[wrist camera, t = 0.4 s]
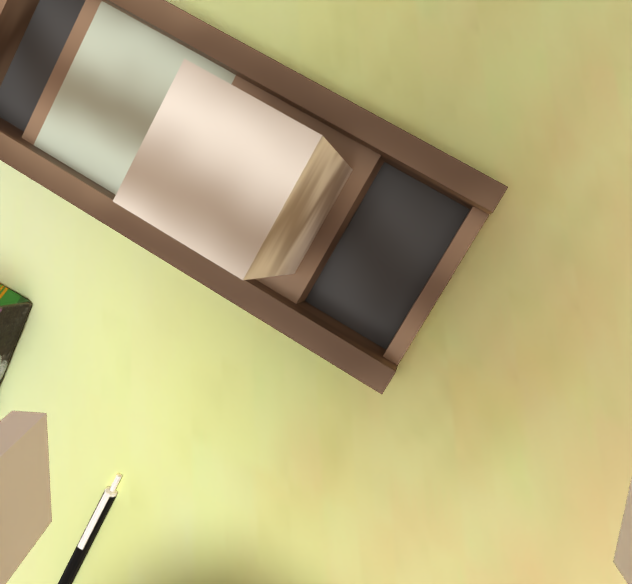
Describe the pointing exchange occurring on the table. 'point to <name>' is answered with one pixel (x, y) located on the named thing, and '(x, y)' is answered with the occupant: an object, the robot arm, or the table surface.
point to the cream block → (232, 177)
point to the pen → (90, 532)
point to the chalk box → (10, 323)
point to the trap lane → (281, 94)
